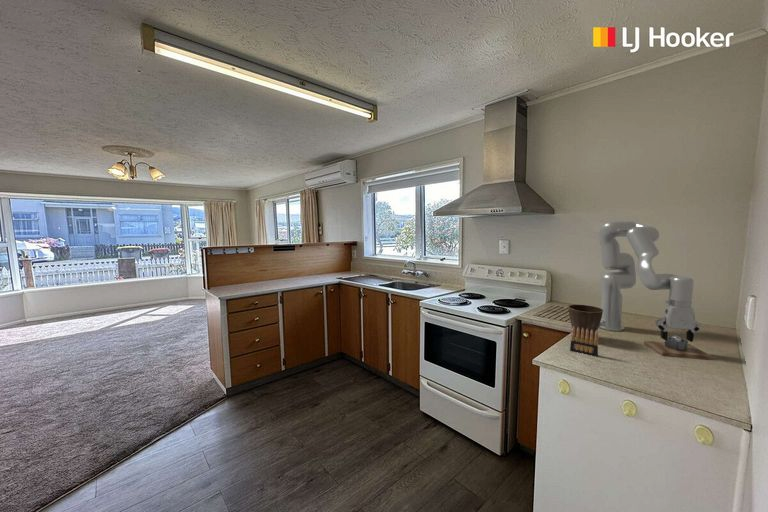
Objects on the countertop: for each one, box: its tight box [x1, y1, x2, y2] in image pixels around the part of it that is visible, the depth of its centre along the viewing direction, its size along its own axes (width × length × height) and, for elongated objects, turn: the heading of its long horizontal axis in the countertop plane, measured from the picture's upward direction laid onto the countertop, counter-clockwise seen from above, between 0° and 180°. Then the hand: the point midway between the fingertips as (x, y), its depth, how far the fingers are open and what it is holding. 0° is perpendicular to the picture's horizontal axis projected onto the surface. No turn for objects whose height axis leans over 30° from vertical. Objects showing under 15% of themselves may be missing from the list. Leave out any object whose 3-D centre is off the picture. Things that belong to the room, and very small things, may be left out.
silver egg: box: [671, 335, 683, 342], centre depth 140 cm, size 4×4×6 cm
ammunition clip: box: [569, 326, 599, 358], centre depth 139 cm, size 11×2×12 cm, turn 50°
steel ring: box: [664, 336, 689, 351], centre depth 140 cm, size 7×7×4 cm
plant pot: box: [568, 304, 603, 340], centre depth 157 cm, size 15×15×16 cm
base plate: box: [643, 340, 713, 360], centre depth 141 cm, size 18×14×2 cm
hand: (676, 339), depth 140 cm, fingers open, 9 cm apart
